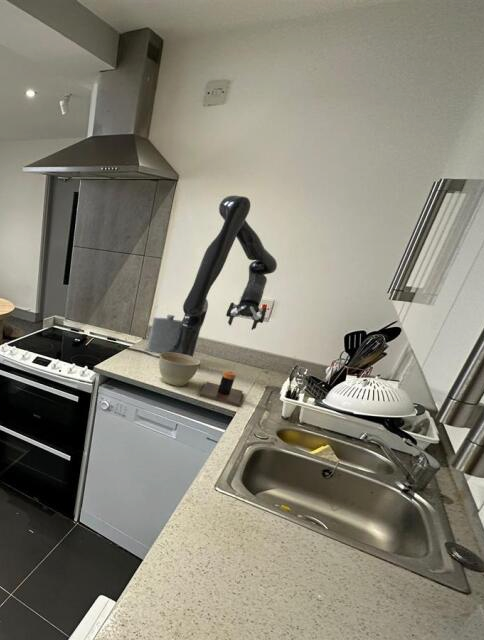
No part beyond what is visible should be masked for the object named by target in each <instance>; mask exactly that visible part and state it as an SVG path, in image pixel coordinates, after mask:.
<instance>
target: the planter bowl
mask: <svg viewBox="0 0 484 640" xmlns="http://www.w3.org/2000/svg"><path fill="white" fill-rule="evenodd" d="M159 356H160V358H159V361H158V368H159V373H160V375H161V377H162V378H161V379H162V381H163V382H164V383H166V384H168V385H171V386H176V387H177V386H178V387H180V386H181V387H183V386H185V385H186V384H187V382H189V381H190V380H192V378H194V376H195V374H196V373H197V371H198V369H199V366H200V364H201V361H200V360H199V359H198V358H196V357H194V356H193V357H191V356H188V355H184V354H179V353H171V352H167V353H159Z"/></svg>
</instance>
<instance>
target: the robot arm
mask: <svg viewBox="0 0 484 640" xmlns="http://www.w3.org/2000/svg"><path fill="white" fill-rule="evenodd" d="M251 205H252V204H251V201H250V199H249V198H248V197H247V196H241V195H228V196H225V198H223V199H222V200H221V201H220V203H219V206H218V212H219V215H220V216H221V218H222V219H223V220H224V222H223V225H222V227H221V229H220V231H219V233H218V234H217V235H216V237H215V238H214V239H213V240H212V242H211V243H210V244H209V245H208V247H207V248H206V250H205V251H204V255H203V256H202V259H201V261H200V265H199V268H198V269H197V273H196V276H195V279H194V281H193V284H192V287H191V288H190V291H189V292H188V294H187V297H186V298H185V299H184V300H185V301H184V302H183V305H182V310H183V313H184V314H183V318H182V320H181V321H182V322H181V323H180V327H179V331H178V335H177V339H176V343H175V344H174V347H173V348H172V349H171V350H170V351H168V352H171V353H179V354H184V355H188V356H191V357H194V354H195V350H196V347H197V344H198V340H199V336H200V332H201V329H202V327H203V325H204V322H205V319H206V315H207V312H208V308H209V301H208V299H207V297H208V295H209V291H210V290H211V288H212V286H213V285H214V283H215V282H216V280H217V279H218V277H219V276H220V274H221V272H222V270H223V268H224V266H225V264H226V262H227V259H228V256H229V254H230V251H231V249H232V247H233V245H234V243H235V240H236V239H237V240H238V242H239V244H240V246H241V248H242V250H243V252H244V254H245V256H246V258H247V259H248V260H249V261H252V262H251V263H250V264H249V265H248V281H247V283H246V286H245V288H244V290H243V292H242V294H241V297H240V301H239V303H238V304H235V303H234V302H230V304H229V307H228V309H227V311H226V314H225V316H226V317H229V318H228V321H227V324H228V325H229V326H232V324H233V321H234V318H237V317H239V316H241V317H247V318H251V320H253V323H252V326H251V330H252V331H253V330H255V329H256V328H257V326H258V323H260V324H263V323H264V320H265V317H266V313H267V308H266V307H263V308H260V304H261V301H262V299H263V296H264V292H265V288H266V285H267V283H268V277H267V276H265V275H270V274H273V273H275V271H276V270H277V267H278V262H277V260H276V258H275V257H274V256H273V255H272V254H271V253H270V252H269V251H268V250H267V249H266V248H265V247H264V244H263V242H262V241H261V238H260V237H259V235H258V234H257V232H256V231H255V230H254V229H253V228H252V226H251V225H250V224H249V223H248V222H247V217H248V215H249V213H250V211H251ZM233 310H234V311H233ZM232 311H233V312H232ZM258 313H259V314H260V317H259V316H258ZM116 347H118V348H119V347H122V348H125V349H127V350H132V351H135V352H139V353H144V354H147V355H148V356H151V357H153V358H154V357H155V358H159V359H160V355H154V354H152V353H149V352H147V351H144V350H140V349H137V348H131V347H128V346H126V345H123V344H118V345H116ZM164 353H167V352H164Z"/></svg>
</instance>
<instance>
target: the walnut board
mask: <svg viewBox="0 0 484 640" xmlns="http://www.w3.org/2000/svg"><path fill="white" fill-rule="evenodd" d="M219 386H220V384H217V383H214V382H210V381H206V382H205V384H204V386H203V388H202V390H201V391H200V393H199V397H203V398H205V399H210V400H213V401H216V402H220V403H224V404H227V405H231V406H234V407H239V405H240V402H241V398H242V395H243V390H241V389H237V388H234V387H232V388H231V391H230V394H229V395H224V394H221V393H219V392H218V389H219Z"/></svg>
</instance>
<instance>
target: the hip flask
mask: <svg viewBox="0 0 484 640" xmlns="http://www.w3.org/2000/svg"><path fill="white" fill-rule="evenodd" d="M175 316H176V315H173V314H167V315H166V317H153V319H152V324H151V329H150V333H149V337H148V340H147V341H148V342H147V347H146V351H148V352H152V353H158V354H162V353H164V352H168V351H170V350H171V349H172V348H173V347H174V344H175V343H176V339H177V335H178V331H179V327H180V323H181V322H182V320H179V319H174V318H175Z"/></svg>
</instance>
